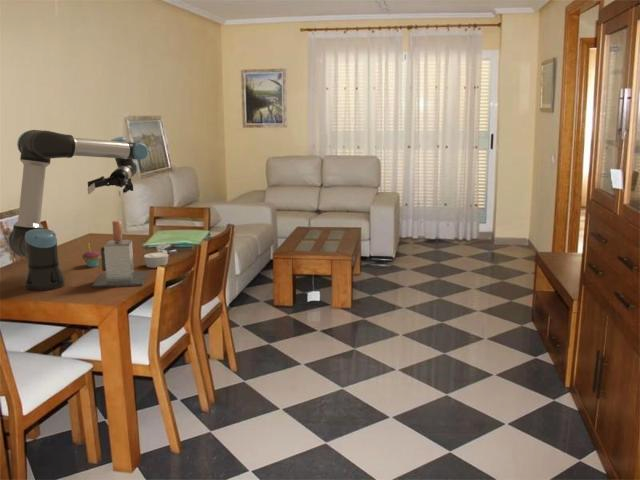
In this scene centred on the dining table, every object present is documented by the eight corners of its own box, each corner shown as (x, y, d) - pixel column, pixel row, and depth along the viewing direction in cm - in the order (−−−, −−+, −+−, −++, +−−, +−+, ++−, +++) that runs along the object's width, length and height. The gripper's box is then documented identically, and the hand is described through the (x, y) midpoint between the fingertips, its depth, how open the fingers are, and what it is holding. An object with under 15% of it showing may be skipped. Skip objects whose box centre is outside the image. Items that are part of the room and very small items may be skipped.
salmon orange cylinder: (115, 277, 261) (111, 222, 256) (116, 275, 264) (113, 221, 259) (124, 277, 261) (120, 222, 256) (125, 275, 265) (121, 220, 260)
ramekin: (139, 267, 286) (138, 256, 285) (154, 262, 297) (153, 251, 296) (159, 269, 282) (158, 258, 281) (173, 264, 293) (172, 253, 292)
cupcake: (95, 268, 284) (93, 243, 282) (79, 267, 286) (77, 242, 283) (105, 263, 292) (103, 239, 290) (89, 263, 294) (87, 238, 292)
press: (92, 288, 252) (89, 248, 248) (100, 275, 271) (97, 238, 268) (142, 285, 255) (139, 246, 252) (147, 273, 275) (144, 236, 271)
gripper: (147, 186, 284) (133, 202, 265) (94, 182, 285) (76, 198, 265) (146, 170, 281) (132, 186, 262) (93, 166, 281) (74, 182, 262)
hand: (104, 192), depth 264 cm, fingers open, 13 cm apart
